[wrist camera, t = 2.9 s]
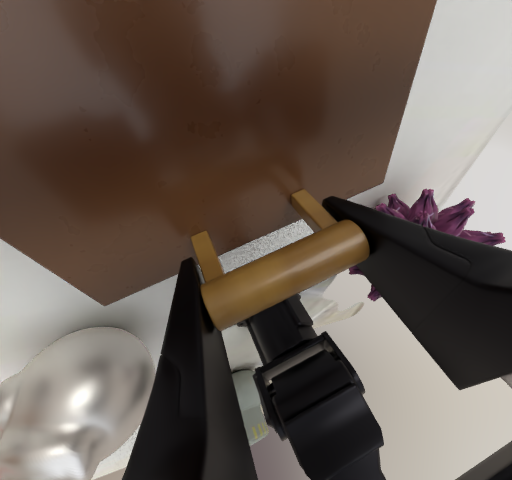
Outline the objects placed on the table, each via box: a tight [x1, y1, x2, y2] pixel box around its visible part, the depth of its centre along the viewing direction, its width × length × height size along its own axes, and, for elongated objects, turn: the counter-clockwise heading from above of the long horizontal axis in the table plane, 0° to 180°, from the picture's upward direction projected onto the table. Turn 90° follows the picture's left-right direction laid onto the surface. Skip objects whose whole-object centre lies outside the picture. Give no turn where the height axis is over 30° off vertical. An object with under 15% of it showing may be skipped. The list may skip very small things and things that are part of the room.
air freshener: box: [232, 370, 269, 446], centre depth 41 cm, size 11×8×10 cm
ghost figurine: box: [0, 327, 155, 480], centre depth 17 cm, size 9×10×10 cm
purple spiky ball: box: [349, 189, 505, 301], centre depth 22 cm, size 12×12×12 cm
